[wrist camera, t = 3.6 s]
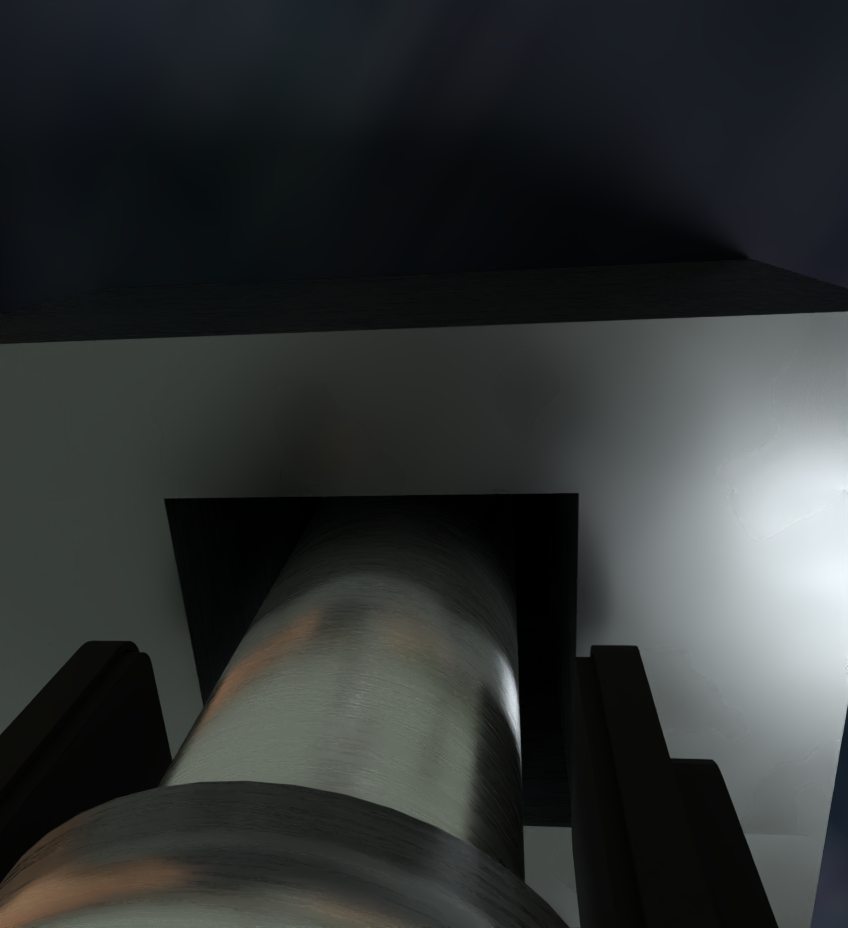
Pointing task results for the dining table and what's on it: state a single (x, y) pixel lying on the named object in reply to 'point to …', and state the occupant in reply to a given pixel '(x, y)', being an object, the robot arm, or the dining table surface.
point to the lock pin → (332, 751)
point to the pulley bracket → (457, 473)
